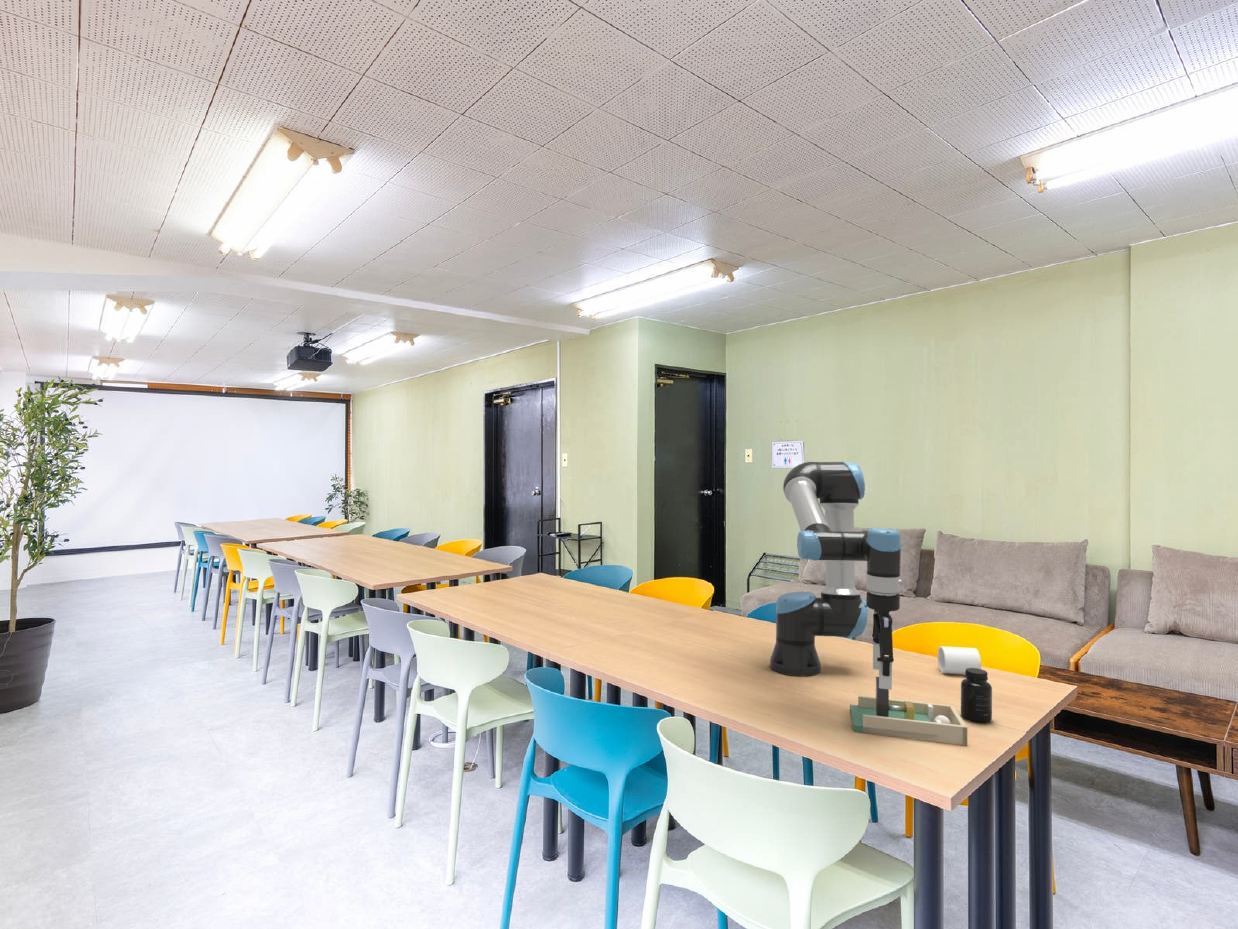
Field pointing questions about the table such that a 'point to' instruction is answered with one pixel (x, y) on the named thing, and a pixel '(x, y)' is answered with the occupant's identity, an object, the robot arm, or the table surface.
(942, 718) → the ball
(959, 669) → the mug
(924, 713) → the pitch
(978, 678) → the supplement bottle
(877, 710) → the uneven dumbbell
